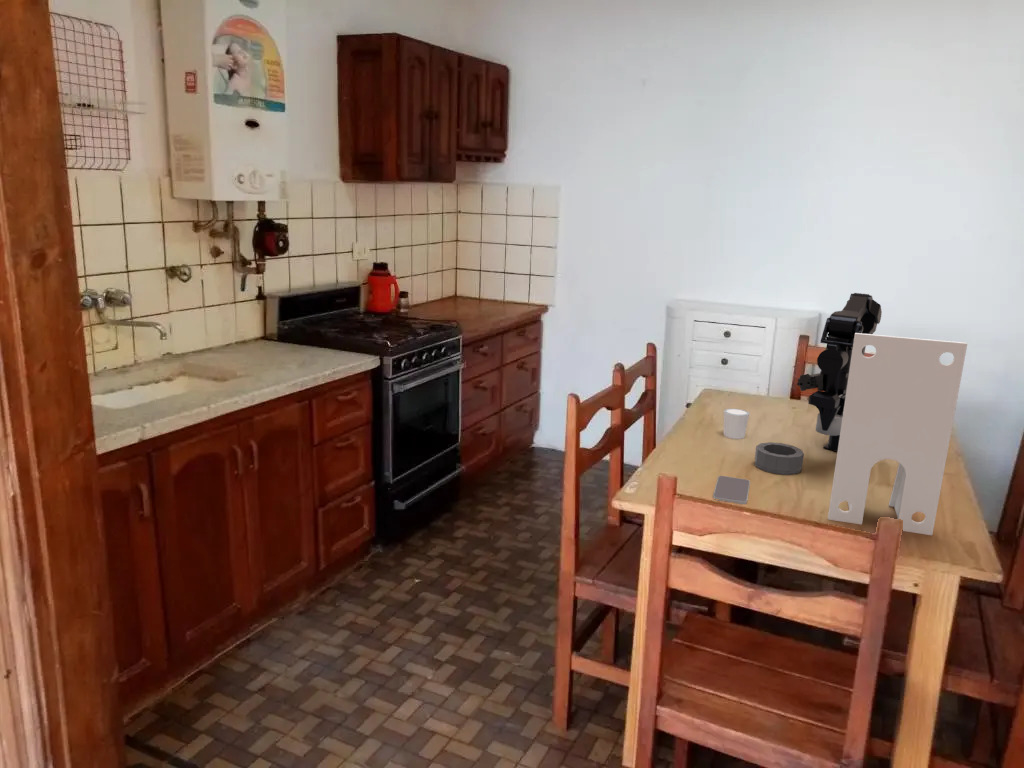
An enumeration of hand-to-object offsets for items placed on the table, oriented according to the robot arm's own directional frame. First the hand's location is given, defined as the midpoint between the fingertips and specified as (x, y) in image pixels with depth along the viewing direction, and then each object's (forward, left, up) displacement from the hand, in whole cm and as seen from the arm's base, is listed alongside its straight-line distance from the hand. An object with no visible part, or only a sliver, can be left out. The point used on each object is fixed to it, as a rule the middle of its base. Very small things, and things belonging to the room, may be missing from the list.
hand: (828, 427), depth 199 cm
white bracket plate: (+22, +18, -11) cm, 30 cm away
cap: (0, 0, -1) cm, 1 cm away
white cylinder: (-9, -27, -11) cm, 31 cm away
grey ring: (+8, -9, -10) cm, 16 cm away
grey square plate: (+31, -11, -11) cm, 34 cm away
